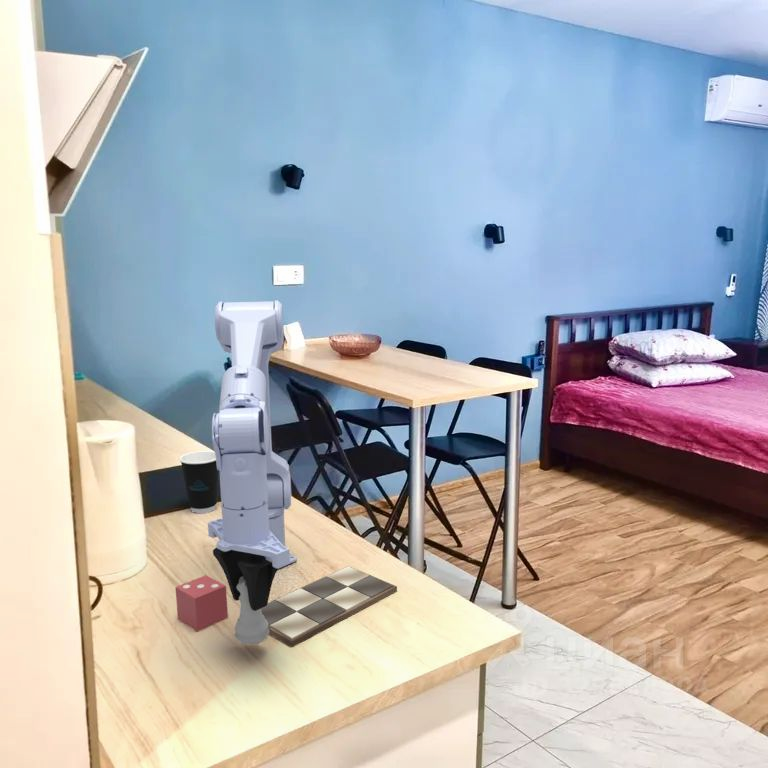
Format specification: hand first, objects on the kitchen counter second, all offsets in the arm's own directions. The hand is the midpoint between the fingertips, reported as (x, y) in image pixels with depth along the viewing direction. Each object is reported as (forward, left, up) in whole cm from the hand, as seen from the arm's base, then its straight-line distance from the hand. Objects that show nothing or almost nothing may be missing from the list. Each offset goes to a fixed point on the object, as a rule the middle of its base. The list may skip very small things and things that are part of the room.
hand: (250, 602), depth 92 cm
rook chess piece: (0, 0, -5) cm, 5 cm away
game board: (-2, +14, -7) cm, 16 cm away
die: (-12, 0, -7) cm, 14 cm away
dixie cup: (-49, +24, -7) cm, 56 cm away
